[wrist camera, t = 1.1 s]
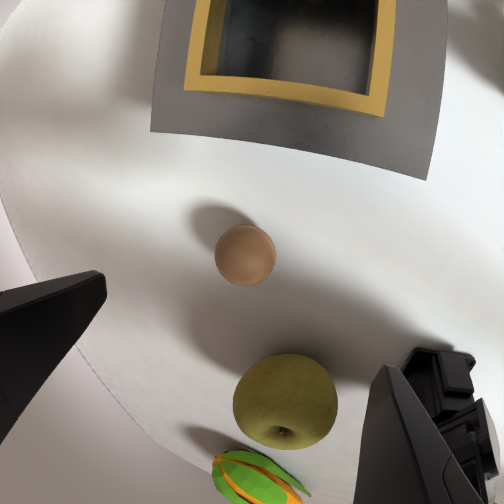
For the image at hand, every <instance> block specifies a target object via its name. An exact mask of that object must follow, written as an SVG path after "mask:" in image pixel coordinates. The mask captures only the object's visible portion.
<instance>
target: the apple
mask: <svg viewBox="0 0 504 504" xmlns="http://www.w3.org/2000/svg"><path fill="white" fill-rule="evenodd" d="M337 410H338V398H337V393H336V389H335V386H334V384H333V381H332V379H331V377H330V375H329V374H328V372H327V371H326V369H325V368H324V367H323V366H322V365H321V364H320V363H318V362H317V361H315V360H314V359H312V358H310V357H307V356H304V355H299V354H278V355H273V356H269V357H266V358H264V359H262V360H260V361H259V362H257V363H255V364H254V365H253V366H252V367H251V368H250V369H249V370H248V371H247V372H246V373H245V374H244V375H243V377H242V378H241V380H240V381H239V383H238V385H237V387H236V390H235V393H234V396H233V412H234V417H235V420H236V422H237V424H238V426H239V428H240V429H241V430H242V432H243V433H244V434H245V435H246V436H248V437H249V438H251V439H252V440H254V441H256V442H258V443H260V444H262V445H265V446H268V447H271V448H275V449H282V450H296V449H302V448H306V447H309V446H311V445H313V444H316V443H317V442H319V441H320V440H322V439H323V438H324V437H325V436H326V435H327V434H328V433H329V431H330V430H331V428H332V426H333V424H334V422H335V419H336V416H337Z"/></svg>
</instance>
